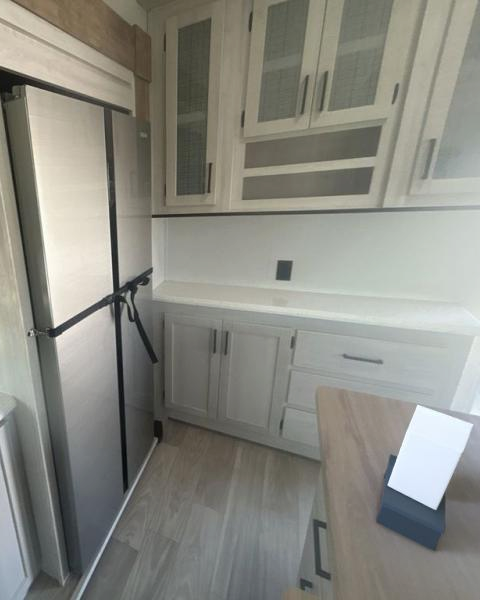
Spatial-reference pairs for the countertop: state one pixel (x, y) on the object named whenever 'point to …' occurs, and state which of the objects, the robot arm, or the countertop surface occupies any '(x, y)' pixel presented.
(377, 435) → the countertop surface
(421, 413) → the milk carton
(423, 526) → the navy blue slab
